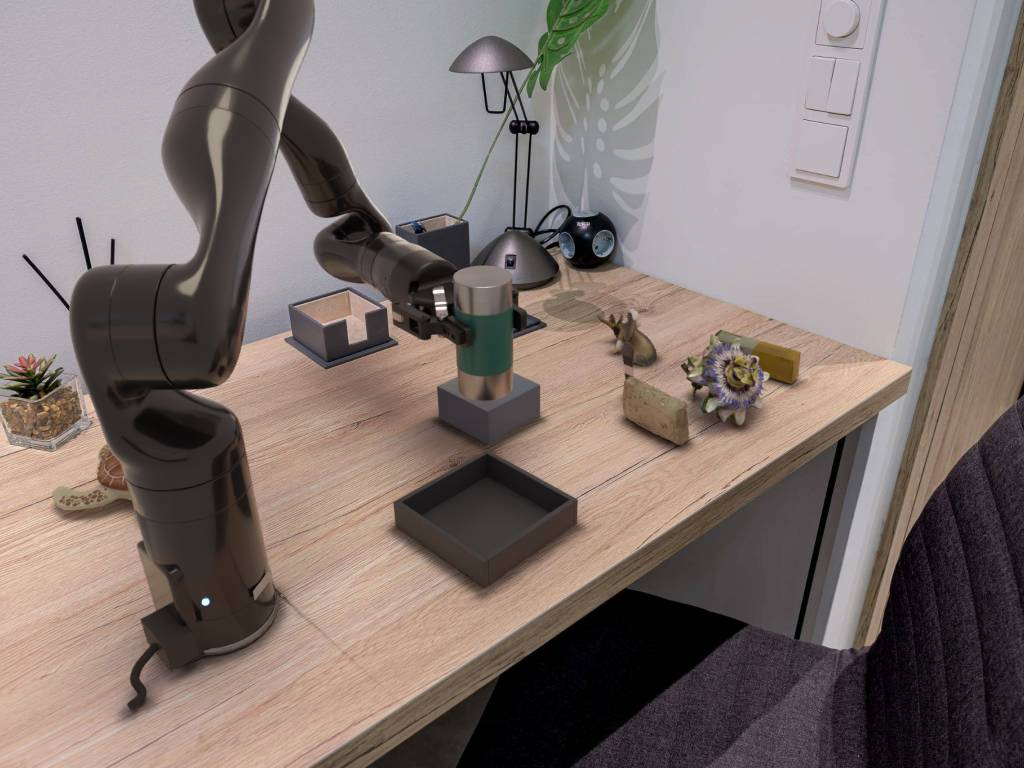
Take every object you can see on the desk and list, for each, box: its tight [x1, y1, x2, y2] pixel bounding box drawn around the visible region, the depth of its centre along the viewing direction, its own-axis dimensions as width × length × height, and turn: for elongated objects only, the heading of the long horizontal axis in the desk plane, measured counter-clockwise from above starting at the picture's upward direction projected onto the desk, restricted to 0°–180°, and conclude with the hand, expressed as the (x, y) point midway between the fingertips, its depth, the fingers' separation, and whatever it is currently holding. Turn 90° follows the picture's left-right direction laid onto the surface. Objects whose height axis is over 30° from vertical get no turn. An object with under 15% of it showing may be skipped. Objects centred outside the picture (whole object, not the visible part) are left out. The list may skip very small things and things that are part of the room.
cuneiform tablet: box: [621, 353, 690, 446], centre depth 100 cm, size 7×4×12 cm
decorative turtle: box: [52, 444, 132, 511], centre depth 91 cm, size 18×17×5 cm
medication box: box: [713, 329, 802, 385], centre depth 113 cm, size 12×3×4 cm, turn 50°
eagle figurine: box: [596, 308, 658, 367], centre depth 118 cm, size 8×7×9 cm
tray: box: [392, 449, 579, 589], centre depth 84 cm, size 13×13×4 cm
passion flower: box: [680, 334, 770, 427], centre depth 103 cm, size 11×11×12 cm
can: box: [453, 265, 514, 401], centre depth 87 cm, size 6×6×13 cm
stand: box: [436, 372, 541, 446], centre depth 102 cm, size 9×9×5 cm
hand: (497, 330), depth 84 cm, fingers closed on can, 6 cm apart
